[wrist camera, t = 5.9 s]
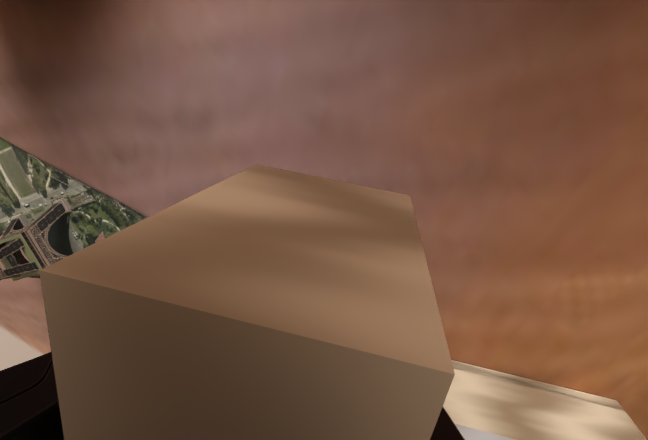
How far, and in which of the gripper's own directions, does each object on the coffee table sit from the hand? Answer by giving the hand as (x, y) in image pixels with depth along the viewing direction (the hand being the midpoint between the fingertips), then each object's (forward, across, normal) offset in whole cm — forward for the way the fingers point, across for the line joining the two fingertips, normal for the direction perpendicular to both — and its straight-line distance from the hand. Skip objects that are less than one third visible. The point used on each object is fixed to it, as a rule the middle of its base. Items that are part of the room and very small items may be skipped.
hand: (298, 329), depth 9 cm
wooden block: (+2, 0, 0) cm, 2 cm away
